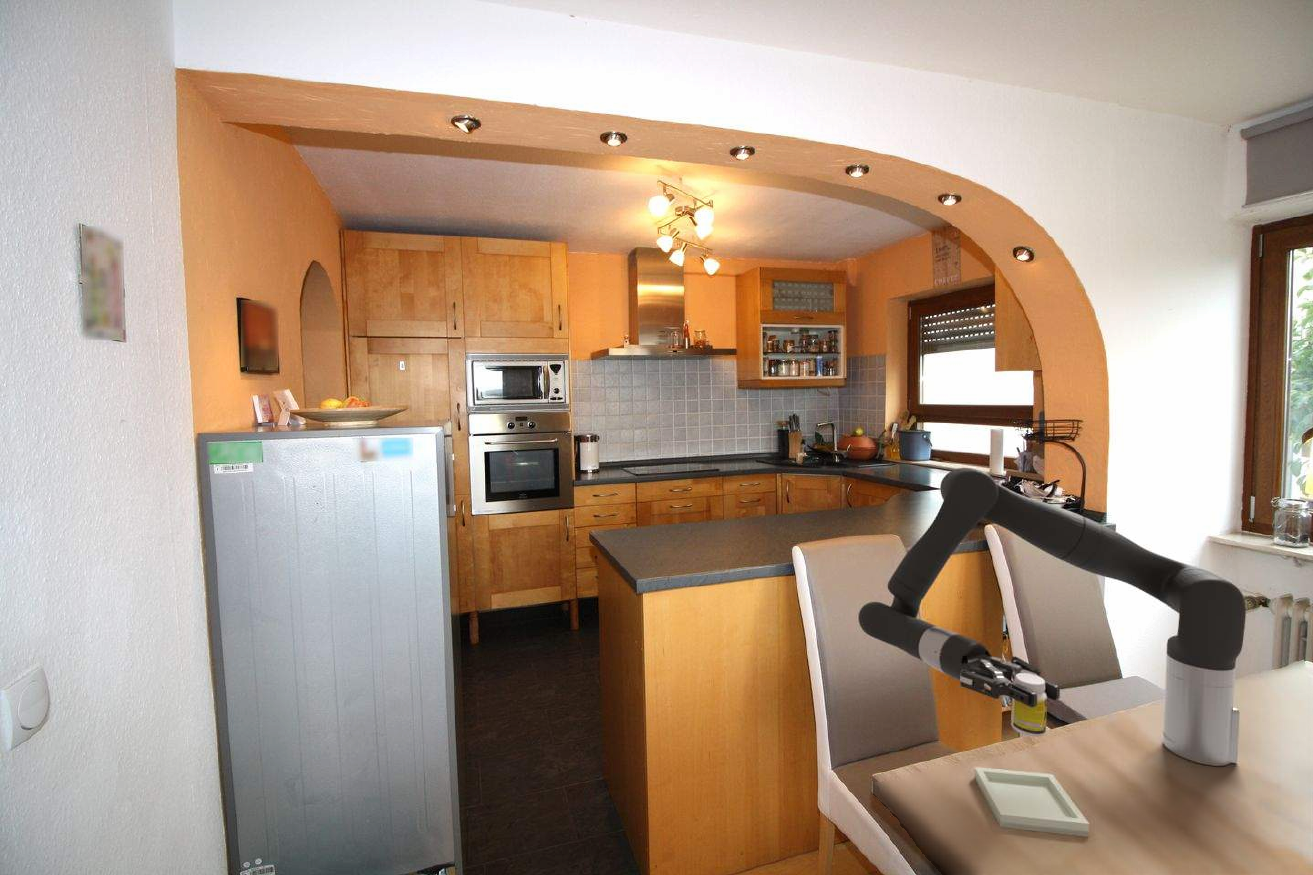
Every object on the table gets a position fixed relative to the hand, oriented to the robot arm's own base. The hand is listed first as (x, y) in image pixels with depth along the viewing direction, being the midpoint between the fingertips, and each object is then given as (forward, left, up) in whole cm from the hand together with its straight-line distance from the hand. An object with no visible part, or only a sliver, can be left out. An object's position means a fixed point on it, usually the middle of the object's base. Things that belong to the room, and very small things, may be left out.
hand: (1046, 697), depth 93 cm
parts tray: (+2, -2, -19) cm, 19 cm away
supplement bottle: (+2, -2, -7) cm, 7 cm away
